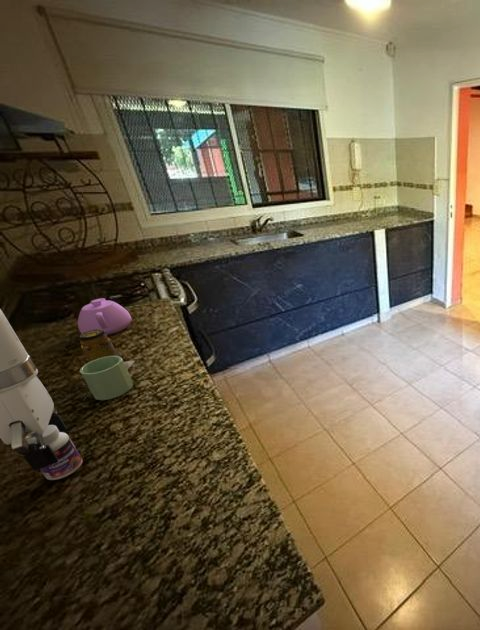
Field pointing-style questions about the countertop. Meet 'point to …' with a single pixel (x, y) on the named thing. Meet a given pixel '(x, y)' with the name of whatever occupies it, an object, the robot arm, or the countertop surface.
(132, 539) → the countertop surface
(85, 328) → the teapot
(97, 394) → the mug
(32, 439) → the pill bottle
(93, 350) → the condiment
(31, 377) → the robot arm
